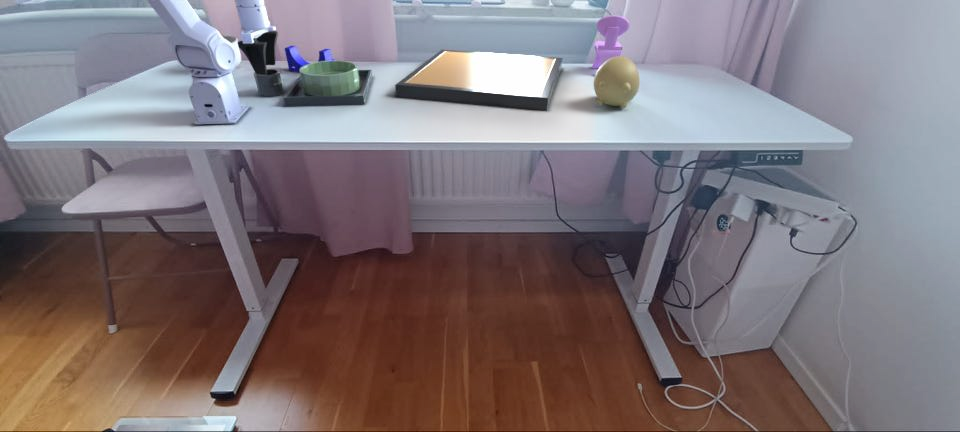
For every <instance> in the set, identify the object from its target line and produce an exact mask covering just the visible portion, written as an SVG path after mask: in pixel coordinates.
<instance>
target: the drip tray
mask: <svg viewBox="0 0 960 432" xmlns="http://www.w3.org/2000/svg"><path fill="white" fill-rule="evenodd" d="M358 71H359V79H360V89H359V90H357V91H356V92H353V93H351V94H347V95H342V96H311V95H308V94H306V93H304V91H303V86H302V81H301V76H300V75H299V77H298V78H297V79H296V81H294V83H293V84H292V86H291V87H290V89H289V90H288V91H287V92H286V93H285V95H284V96H283V102H284V107H310V106H311V107H314V106H315V107H316V106H317V107H318V106H352V105H353V106H355V105H358V106H359V105H365V104H366V100H367V97H368V94H369V90H370V87H371V83H372V80H373V70H372V69H358Z"/></svg>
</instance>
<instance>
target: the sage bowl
mask: <svg viewBox="0 0 960 432" xmlns="http://www.w3.org/2000/svg"><path fill="white" fill-rule="evenodd" d="M309 63H310V64H307V65H304V66H302V67H301V68H300V69H299V71H300V72H299V77H300V76H301V81H302V86H303V91H304V93H306V94H308V95H311V96H342V95H347V94H351V93H353V92H356V91H357V90H359V89H360V79H359V71H358V70H359V66H358V65H357V64H356V63H355V62H352V61H347V60H338V59H337V60H336V59H335V61H320V62H318V61H315V62H309Z"/></svg>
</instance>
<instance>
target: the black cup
mask: <svg viewBox="0 0 960 432" xmlns="http://www.w3.org/2000/svg"><path fill="white" fill-rule="evenodd" d="M253 77H254V81H255V84H256V89H257V93H258V94H259V95H260V96H261V97H266V98H271V97H277V96H281V95H282V94H283V93H284V91H285V89H284V85H283V81H282V76H281V71H280V70H279V69H276V68H267V72H266V74H256V73H255V71H253Z"/></svg>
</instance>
